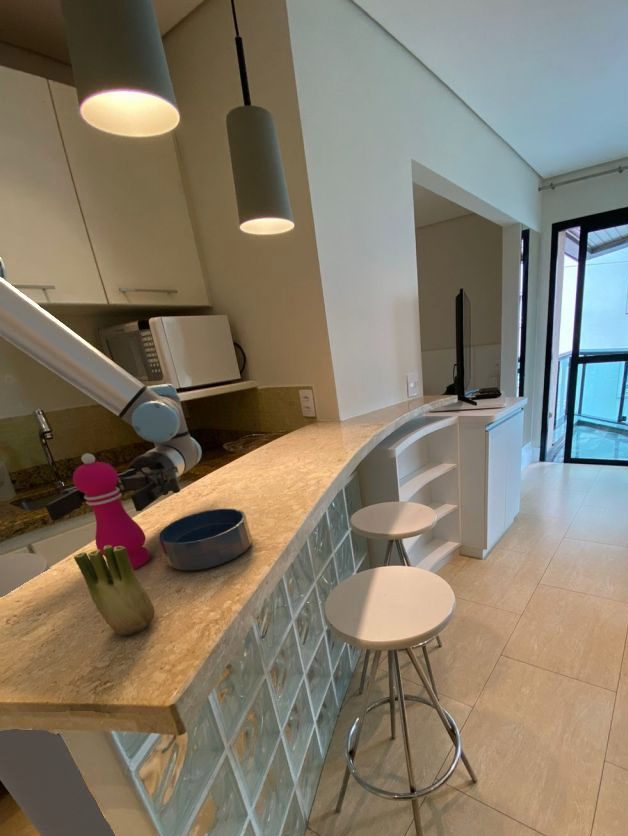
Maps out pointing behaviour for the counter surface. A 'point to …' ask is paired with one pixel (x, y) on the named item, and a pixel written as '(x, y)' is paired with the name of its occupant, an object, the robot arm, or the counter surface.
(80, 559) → the fennel bulb
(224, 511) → the bowl
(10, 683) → the counter surface
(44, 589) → the counter surface
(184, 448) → the robot arm
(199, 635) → the counter surface
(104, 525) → the pepper mill
